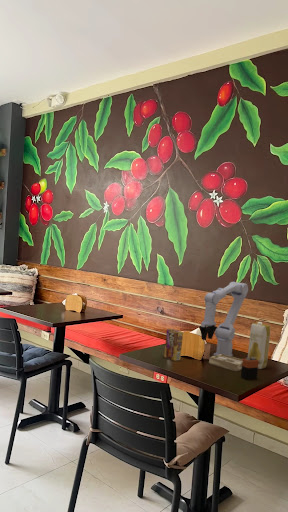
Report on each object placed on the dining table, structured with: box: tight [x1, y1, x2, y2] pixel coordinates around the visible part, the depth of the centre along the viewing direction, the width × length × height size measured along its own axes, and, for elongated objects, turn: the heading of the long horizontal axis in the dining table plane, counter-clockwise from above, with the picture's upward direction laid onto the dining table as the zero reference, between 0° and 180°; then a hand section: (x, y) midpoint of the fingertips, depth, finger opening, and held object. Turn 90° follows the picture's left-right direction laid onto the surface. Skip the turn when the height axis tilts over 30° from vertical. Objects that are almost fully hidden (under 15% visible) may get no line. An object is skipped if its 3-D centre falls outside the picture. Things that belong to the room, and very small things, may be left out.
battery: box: [240, 357, 259, 381], centre depth 202 cm, size 4×7×10 cm, turn 119°
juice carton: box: [247, 321, 271, 370], centre depth 225 cm, size 9×8×24 cm
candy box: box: [164, 328, 184, 362], centre depth 225 cm, size 9×4×15 cm, turn 39°
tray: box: [208, 354, 244, 372], centre depth 221 cm, size 13×16×4 cm
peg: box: [202, 342, 211, 360], centre depth 232 cm, size 4×4×8 cm
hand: (206, 339), depth 232 cm, fingers open, 7 cm apart
